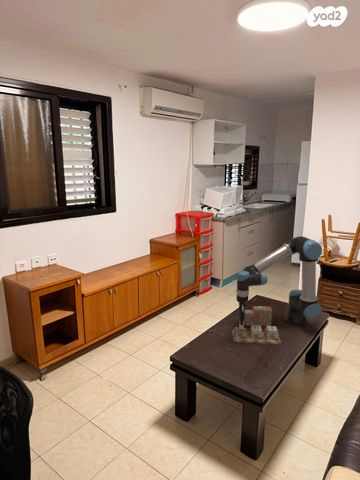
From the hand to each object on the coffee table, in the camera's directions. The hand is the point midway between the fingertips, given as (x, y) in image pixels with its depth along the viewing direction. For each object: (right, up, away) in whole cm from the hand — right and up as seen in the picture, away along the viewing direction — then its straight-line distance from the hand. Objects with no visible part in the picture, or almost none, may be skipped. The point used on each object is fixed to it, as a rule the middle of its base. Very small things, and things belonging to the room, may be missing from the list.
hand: (241, 328), depth 215 cm
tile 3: (0, -5, +1) cm, 5 cm away
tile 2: (+10, -2, -1) cm, 10 cm away
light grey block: (+20, -3, -2) cm, 20 cm away
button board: (+10, -7, 0) cm, 12 cm away
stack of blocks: (+14, -2, +20) cm, 24 cm away
